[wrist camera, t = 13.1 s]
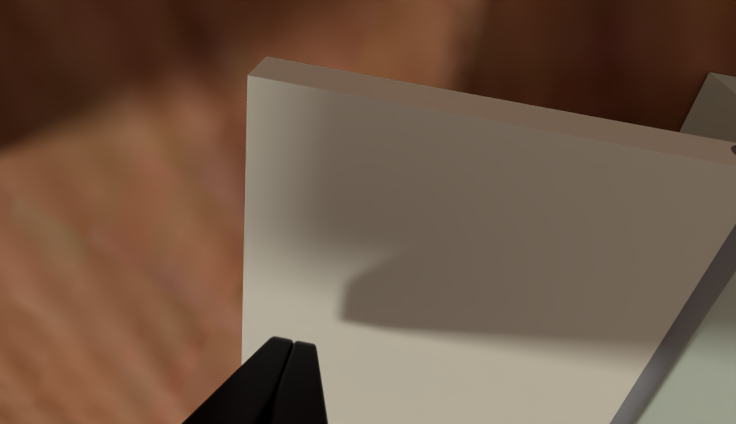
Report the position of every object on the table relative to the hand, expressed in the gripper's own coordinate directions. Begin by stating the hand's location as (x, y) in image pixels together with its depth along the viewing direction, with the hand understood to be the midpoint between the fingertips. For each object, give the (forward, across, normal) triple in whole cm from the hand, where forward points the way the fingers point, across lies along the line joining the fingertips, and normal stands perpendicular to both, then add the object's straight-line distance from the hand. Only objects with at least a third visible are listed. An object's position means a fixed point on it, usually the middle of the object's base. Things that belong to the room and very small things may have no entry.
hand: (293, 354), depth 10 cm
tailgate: (+2, -3, 0) cm, 4 cm away
